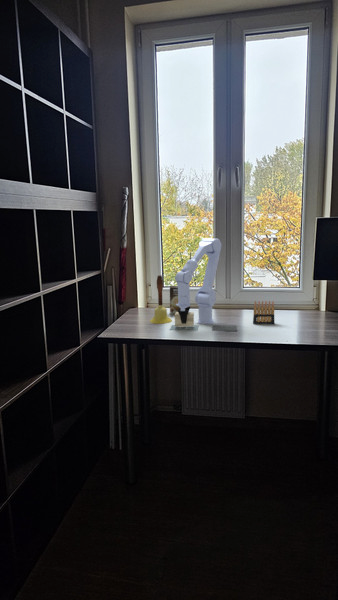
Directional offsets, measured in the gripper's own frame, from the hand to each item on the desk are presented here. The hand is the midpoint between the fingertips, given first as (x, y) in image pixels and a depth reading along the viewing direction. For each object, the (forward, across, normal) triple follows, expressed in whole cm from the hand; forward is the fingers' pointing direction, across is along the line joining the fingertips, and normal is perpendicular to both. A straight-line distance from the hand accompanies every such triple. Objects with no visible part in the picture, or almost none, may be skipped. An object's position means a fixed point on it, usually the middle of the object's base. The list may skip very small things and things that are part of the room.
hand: (184, 322), depth 207 cm
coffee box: (+3, -32, -7) cm, 33 cm away
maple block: (+2, 0, 0) cm, 2 cm away
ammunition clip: (+4, -10, +40) cm, 41 cm away
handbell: (+3, -13, -14) cm, 20 cm away
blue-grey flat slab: (+3, 0, 0) cm, 3 cm away
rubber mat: (+3, 0, +20) cm, 20 cm away
